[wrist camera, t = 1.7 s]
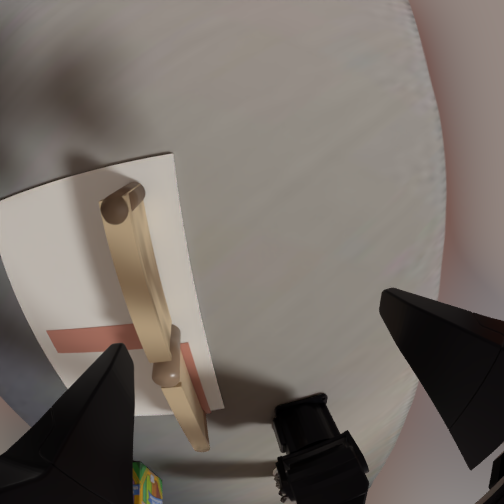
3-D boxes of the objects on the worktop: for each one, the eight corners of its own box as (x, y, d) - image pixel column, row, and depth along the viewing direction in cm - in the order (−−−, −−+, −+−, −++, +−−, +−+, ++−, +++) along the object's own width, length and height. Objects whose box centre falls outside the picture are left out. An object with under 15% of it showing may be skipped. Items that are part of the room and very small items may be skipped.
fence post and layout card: (173, 153, 17) (162, 156, 12) (225, 411, 28) (232, 450, 23) (-11, 205, 15) (-51, 224, 10) (91, 417, 25) (84, 452, 20)
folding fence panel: (174, 320, 21) (171, 360, 17) (155, 322, 21) (149, 362, 17) (143, 179, 17) (125, 191, 13) (121, 184, 17) (97, 197, 12)
